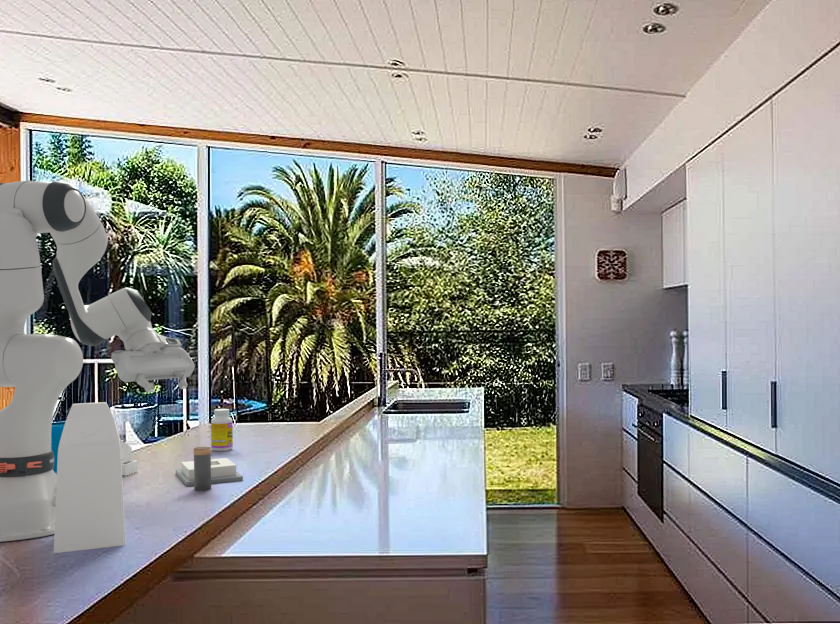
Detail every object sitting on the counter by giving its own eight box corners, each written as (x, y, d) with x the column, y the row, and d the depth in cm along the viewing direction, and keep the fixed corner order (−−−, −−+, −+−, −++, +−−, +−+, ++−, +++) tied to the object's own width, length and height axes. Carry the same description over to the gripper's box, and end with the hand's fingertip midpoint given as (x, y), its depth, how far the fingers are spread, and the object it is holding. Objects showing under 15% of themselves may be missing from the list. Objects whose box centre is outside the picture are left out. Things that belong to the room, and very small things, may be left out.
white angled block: (103, 469, 203) (113, 438, 207) (123, 481, 211) (131, 451, 216) (116, 470, 202) (125, 438, 206) (135, 482, 211) (143, 451, 215)
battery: (212, 489, 188) (212, 448, 188) (195, 491, 186) (195, 450, 186) (209, 486, 192) (209, 446, 192) (192, 488, 190) (192, 447, 190)
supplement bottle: (229, 451, 242) (229, 410, 242) (208, 451, 242) (208, 411, 242) (235, 448, 249) (234, 408, 249) (214, 448, 249) (214, 408, 249)
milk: (125, 529, 153) (123, 398, 154) (125, 545, 143) (123, 404, 143) (58, 536, 149) (56, 402, 149) (53, 553, 138) (51, 408, 139)
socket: (242, 480, 198) (242, 466, 199) (186, 486, 192) (186, 472, 192) (227, 468, 215) (227, 455, 215) (175, 473, 209) (175, 460, 209)
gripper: (112, 342, 191) (134, 383, 185) (184, 339, 207) (207, 377, 200) (103, 360, 194) (125, 401, 187) (175, 355, 209) (197, 393, 203)
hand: (168, 388), depth 194 cm, fingers open, 8 cm apart
